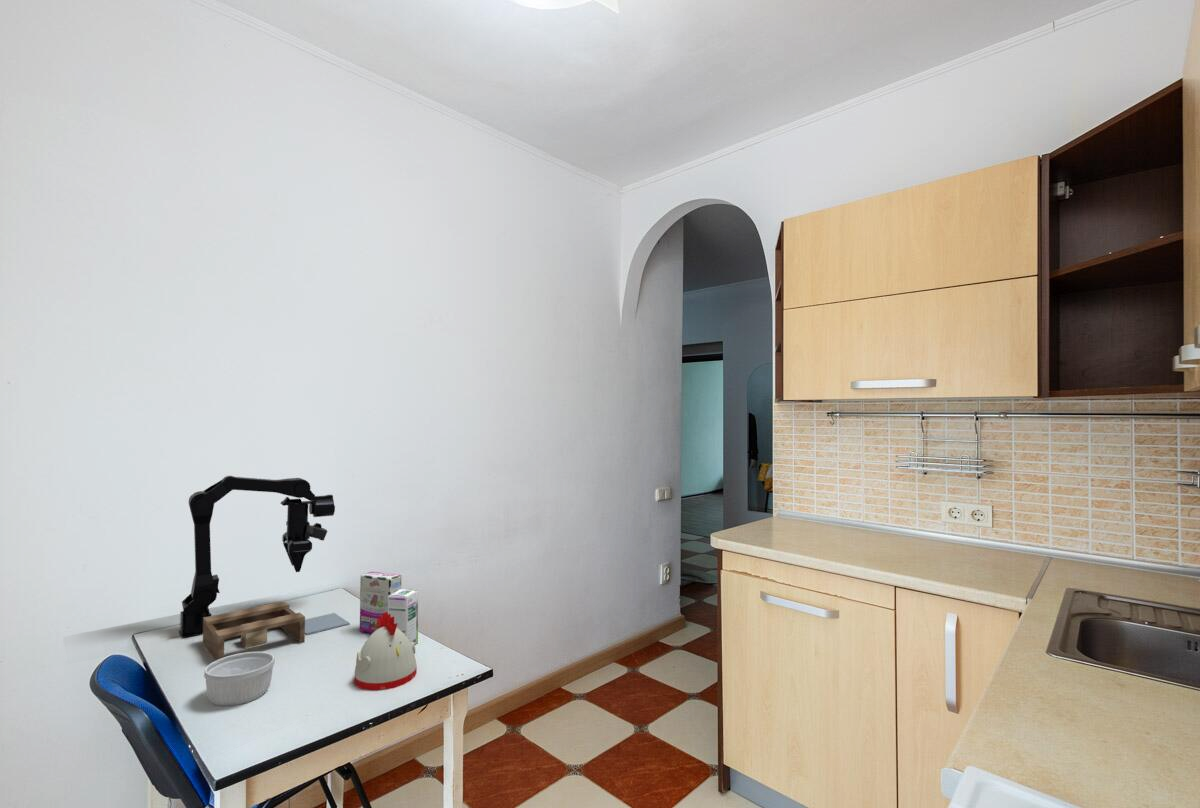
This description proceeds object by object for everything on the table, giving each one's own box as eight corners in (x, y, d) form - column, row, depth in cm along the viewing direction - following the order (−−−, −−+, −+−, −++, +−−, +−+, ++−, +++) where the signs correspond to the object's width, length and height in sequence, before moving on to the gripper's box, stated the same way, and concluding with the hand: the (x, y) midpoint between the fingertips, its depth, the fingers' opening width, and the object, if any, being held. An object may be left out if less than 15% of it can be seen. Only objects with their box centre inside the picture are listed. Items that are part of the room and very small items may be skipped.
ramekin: (258, 675, 135) (258, 646, 136) (285, 691, 128) (285, 660, 128) (193, 697, 125) (194, 665, 125) (219, 716, 117) (219, 682, 117)
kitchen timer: (370, 696, 126) (372, 628, 126) (344, 677, 135) (345, 613, 135) (427, 676, 136) (428, 612, 136) (398, 659, 145) (399, 600, 146)
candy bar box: (401, 632, 163) (402, 574, 164) (389, 638, 159) (390, 579, 159) (371, 626, 167) (372, 570, 168) (358, 632, 163) (359, 574, 163)
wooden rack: (218, 664, 141) (218, 636, 141) (202, 643, 154) (203, 617, 154) (304, 642, 155) (305, 616, 155) (283, 624, 168) (284, 601, 168)
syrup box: (407, 651, 150) (407, 596, 150) (386, 649, 151) (387, 594, 151) (418, 643, 155) (418, 589, 156) (398, 641, 156) (399, 588, 157)
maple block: (245, 648, 151) (246, 629, 151) (240, 643, 154) (241, 624, 155) (266, 643, 154) (267, 625, 155) (261, 638, 158) (262, 620, 158)
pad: (306, 635, 160) (306, 633, 160) (292, 624, 169) (292, 622, 169) (349, 624, 169) (349, 622, 169) (334, 614, 177) (334, 612, 177)
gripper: (331, 520, 175) (329, 571, 175) (320, 512, 191) (319, 559, 190) (290, 524, 169) (288, 577, 168) (283, 515, 184) (281, 563, 184)
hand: (295, 568), depth 178 cm, fingers open, 9 cm apart
